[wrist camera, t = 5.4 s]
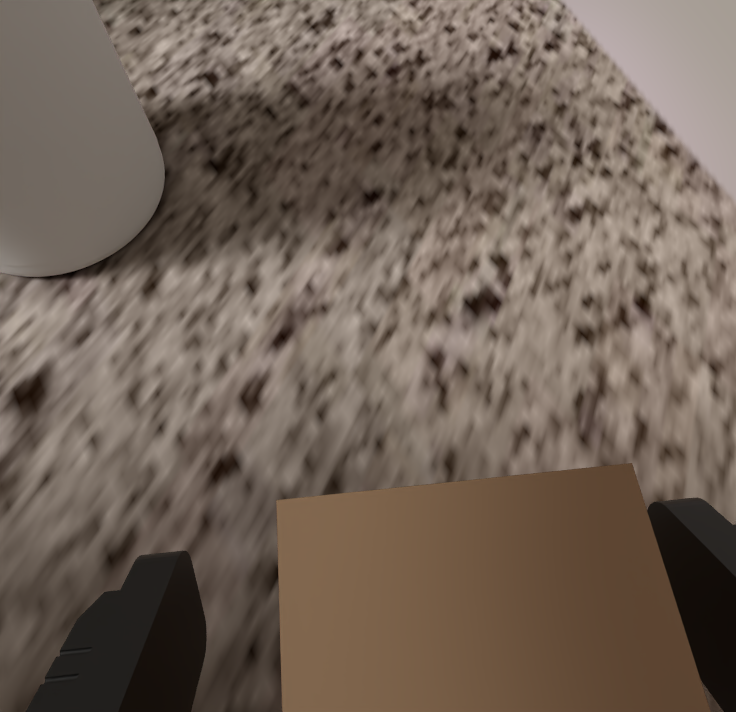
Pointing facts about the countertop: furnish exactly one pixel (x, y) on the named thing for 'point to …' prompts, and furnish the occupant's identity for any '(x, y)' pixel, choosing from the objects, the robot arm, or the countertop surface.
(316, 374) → the countertop surface
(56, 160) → the pill bottle
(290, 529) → the tall wooden block
